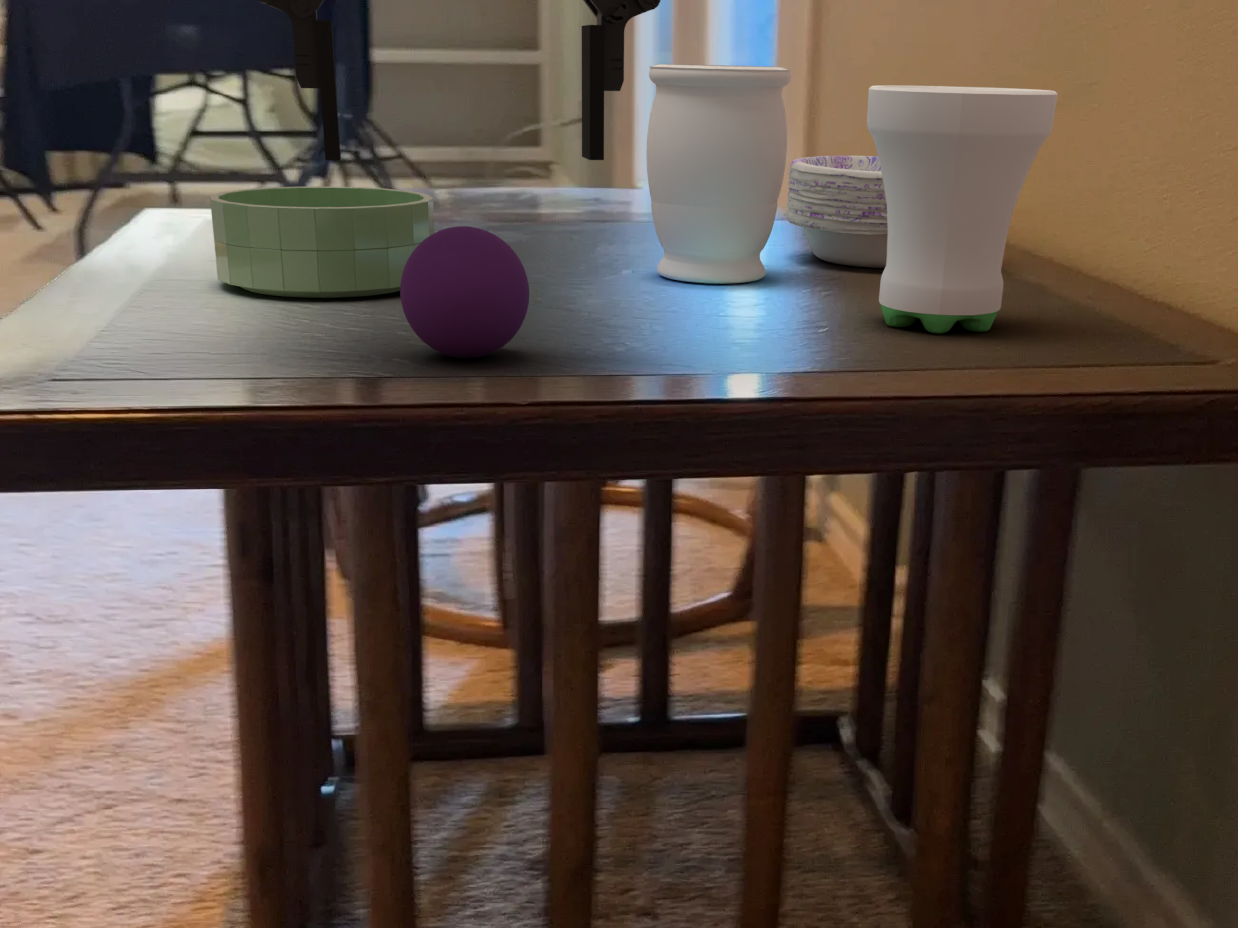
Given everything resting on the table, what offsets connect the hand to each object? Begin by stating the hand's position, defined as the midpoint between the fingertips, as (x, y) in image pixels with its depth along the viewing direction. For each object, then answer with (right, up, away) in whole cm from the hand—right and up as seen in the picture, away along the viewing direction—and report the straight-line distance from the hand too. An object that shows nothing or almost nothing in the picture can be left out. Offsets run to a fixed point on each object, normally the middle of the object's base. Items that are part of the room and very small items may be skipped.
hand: (465, 159), depth 73 cm
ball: (0, -10, +4) cm, 10 cm away
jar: (+15, +2, +34) cm, 37 cm away
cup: (+29, -5, +17) cm, 33 cm away
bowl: (-13, 0, +27) cm, 30 cm away
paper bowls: (+29, +6, +44) cm, 53 cm away
